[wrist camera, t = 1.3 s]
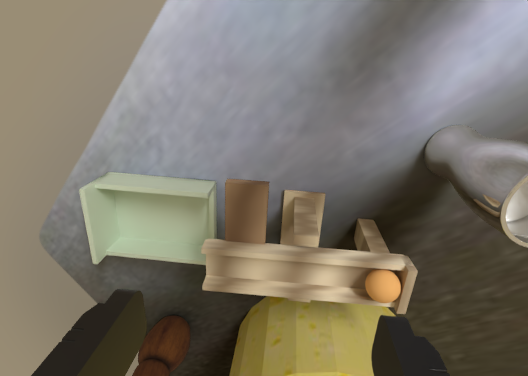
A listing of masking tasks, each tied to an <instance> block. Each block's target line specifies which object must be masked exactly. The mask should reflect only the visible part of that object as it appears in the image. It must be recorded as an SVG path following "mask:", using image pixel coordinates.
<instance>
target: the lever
mask: <svg viewBox="0 0 528 376" xmlns="http://www.w3.org/2000/svg"><path fill="white" fill-rule="evenodd" d="M268 192H269V182H265V181H251V180H238V179H227V180H226V182H225V240H220V239H207V240H206V239H205V241H204V244H203V246H202V248H201V254H206V277H205V280H204V282H203V285H202V289H203V290H207V291H218V292H229V293H240V294H252V295H263V296H274V297H285V298H296V299H307V300H318V301H329V302H341V303H352V304H363V305H374V306H385V307H394V308H395V310H396V313H398V314H405V313H406V310H407V306H408V303H409V299H410V296H411V292H412V289H413V286H414V282H415V279H416V275H417V272H418V271H417V270H416V268H415V267H414V265H413V263H412V262H411V260H410V259H409V257H408V256H404V255H402V254H390V253H378V252H366V251H354V250H341V249H329V248H317V247H305V246H293V245H281V244H268V243H265V241H266V224H267V208H268ZM375 269H387V270H390V271H392V272H393V273H394V274H395V275H396V276H397V277H398V279H399V281H400V284H401V291H400V294H399V296H398V298H397V299H396V300H394V301H393V302H390V303H380V302H377V301H375V300H374V299H372V298H371V297H370V296H369V294H368V293H367V290H366V287H365V281H366V278H367V276H368V274H369V273H370V272H371V271H373V270H375Z"/></svg>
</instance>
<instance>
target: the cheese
mask: <svg viewBox="0 0 528 376" xmlns="http://www.w3.org/2000/svg"><path fill="white" fill-rule="evenodd" d="M381 315H385V316H395V315H394V314H393V313H392V312H391V311H390V310H389V309H388V308H387V307H385V306H374V305H363V304H352V303H341V302H329V301H318V300H311V301H310V303H309V302H300V301H291V300H288V298H285V297H274V296H267V297H265V298H264V299H263V300H261V301H260V302H259V303H257V304H256V305H255V306H253V307H252V308H251V309H250V311H249V312H248V314H247V315H246V317H245V319H244V320H243V322H242V323H241V325H240V328H239V333H238V338H237V343H236V347H235V352H234V357H233V361H232V366H231V371H230V376H374V373H373V369H372V361H371V353H372V346H373V342H374V337H375V333H376V329H377V324H378V320H379V317H380V316H381ZM395 317H396V316H395Z"/></svg>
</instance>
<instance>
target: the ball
mask: <svg viewBox="0 0 528 376" xmlns="http://www.w3.org/2000/svg"><path fill="white" fill-rule="evenodd" d="M365 287H366V290H367V293H368V294H369V296H370V297H371V298H372V299H374V300H375V301H377V302H380V303H390V302H393V301H394V300H396V299H397V298H398V296H399V294H400V291H401V284H400V281H399V279H398V277H397V276H396V275H395V274H394V273H393V272H392V271H390V270H387V269H375V270H373V271H371V272H370V273H369V274H368V276H367V278H366V281H365Z"/></svg>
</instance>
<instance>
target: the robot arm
mask: <svg viewBox="0 0 528 376" xmlns="http://www.w3.org/2000/svg"><path fill="white" fill-rule="evenodd" d="M146 330H147V322H146V315H145V308H144V302H143V295H142V292H141V291H137V290H126V289H117V290H115V291H114V293H113V294H112V295H111V296H110V298H109V299H108V300H107V301H106V303H105V304H103V303H98V304H97V305H96V306H94V307H93V308H91V309H90V310H88V311H87V312H85V313H84V314H83V315H82V316H81V317H80V318H79V320H78V321H77V322H76V323H75V324H74V326H73V327H72V329H71V331H68V333H67V334H66V335H65V336H64V337H63V339H62V342H59V343H58V345H57V346H56V347H55V348H54V349H53V351H52V352H51V353H50V354H49V355H48V356H47V358H46V359H45V360H44V361H43V362H42V364H41V365H40V366H39V367H38V368H37V370H36V371H35V372H34V373H33V374H32V375H31V376H125V374H126V373H127V371H128V369H129V367H130V365H131V364H132V362H133V360H134V358H135V356H136V354H137V353H138V351H139V349H140V347H141V345H142V343H143V341H144V338H145V335H146ZM371 361H372V369H373V373H374V376H450V375H449V373H447V369H446V367H445V365H444V363H443V361H442V359H441V357H440V354H439V352H438V351H437V350H436V349H435V348H434V347H433V346H432V345H431V344H430V343H429V342H428V340H427V339H426V338H425V337H419V336H414V333H413V331H412V329H411V326H410V324H409V322H408V320H407V319H406V318H405V317H395V316H385V315H381V316H380V317H379V320H378V324H377V329H376V333H375V337H374V342H373V346H372V353H371Z"/></svg>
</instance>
